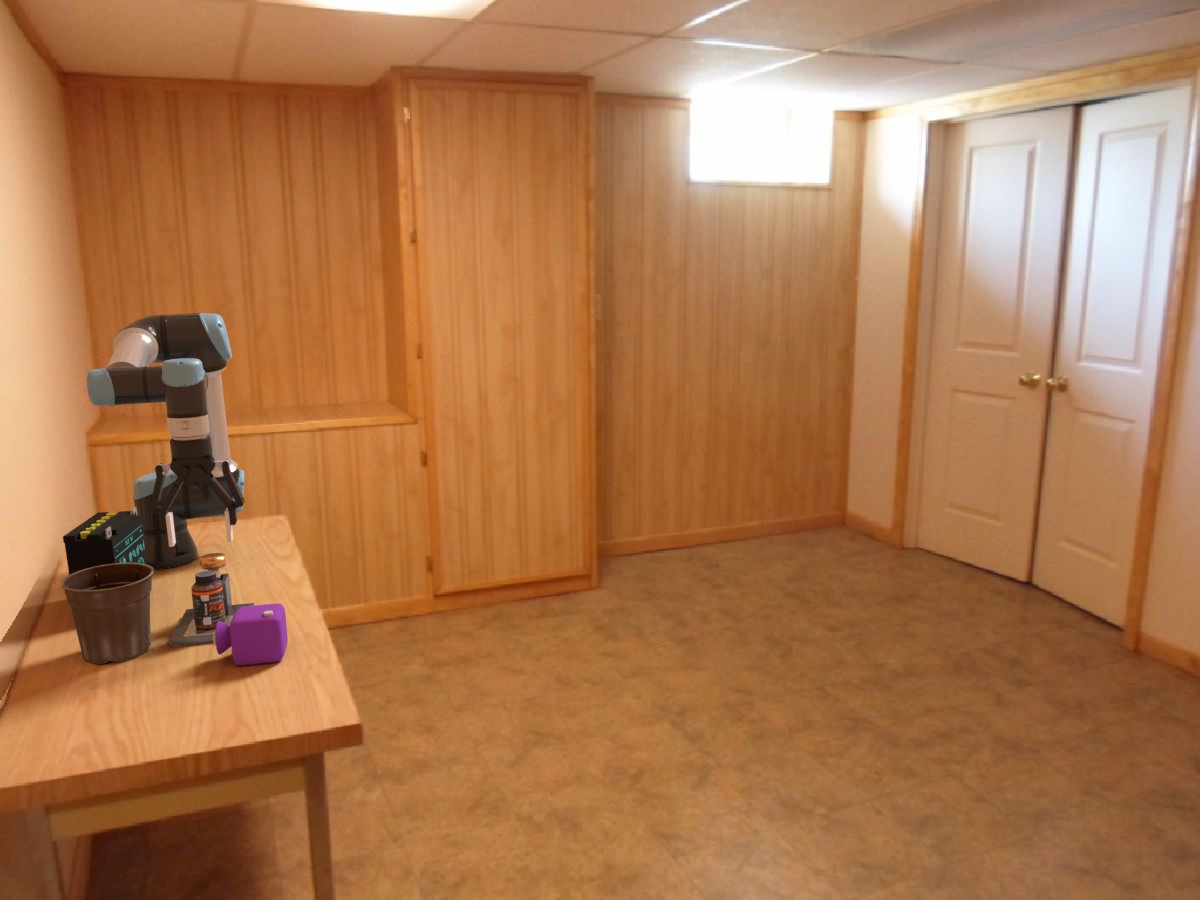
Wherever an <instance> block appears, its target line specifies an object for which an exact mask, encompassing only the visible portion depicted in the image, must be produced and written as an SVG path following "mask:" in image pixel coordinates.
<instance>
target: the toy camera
mask: <svg viewBox="0 0 1200 900" xmlns="http://www.w3.org/2000/svg"><path fill="white" fill-rule="evenodd" d="M288 637H289V636H288V627H287V617H286V610H285V607H284V605H283V604H281V603H268V604H267V603H265V604H257V605H255V604H254V605H253V606H244V607H240V608H238V609H237V610H236V612H235V614H234V616H233V618H232V620H231V623H230V626H228V625H227V624H225V623H223V622H221V621H218V622H217V624H216V630H215V632H214V634H213V642H212V643H213V644H214V646H215V647H216V653H217V654H218V655H222V654H224V653H225V652H227V651H228V650H229V649H231V655H232V660H233V662H234V664H235V665H237V666H249V665H261V664H268V663H269V664H270V663H276V662H280V661H281V660H283V658H284V657H285V653H286V649H287V646H288V641H289V640H288Z"/></svg>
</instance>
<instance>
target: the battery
mask: <svg viewBox="0 0 1200 900" xmlns="http://www.w3.org/2000/svg"><path fill="white" fill-rule="evenodd" d="M62 542H63V544H64V549H65V550H64V551H65V556H66V563H67V571H68V576H69V575H70V574H73V573H75V572H78V571H81V570H84V569H87V568H91V567H95V566H100V565H107V564H116V563H141V564H146V565H147V557H146V549H145V541H144V533H143V525H142V515H137V508H136V507H135V506H134V508H132V509H131V510H123V511H122V510H120V511H118V512H117V513H115V512H108V511H103V512H99V511H98V512H97V513H95V514H94V515H92V516H91V517H89V518H87V519H86V520H85V521H83V522H81V524H79V525H77V526H76V527H75V528H73V529H72V530H70V531H69V532H67V533H66V534H64V535H63V536H62Z"/></svg>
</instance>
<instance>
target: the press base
mask: <svg viewBox="0 0 1200 900" xmlns="http://www.w3.org/2000/svg"><path fill="white" fill-rule="evenodd" d="M220 576H221V580H218V581H220V582H221V583H222V589H223V599H224V610H225V624H227V625H228V626H230V623H231V620H232V618H233V616H234V614H235V612H236V610H237V609H238V608H240V607H244V606H253V605H255V603H254V602H249V603H239V604H233V601H232V600H233V599H232V591H231V590H232V589H231V582H230V581H231V580H230V573H220ZM215 630H216V628H211V629H200V628H197V627H196V626H195V620H194V610H193V608H186V609H185V611H184V613H183V614H182V617H181V618H180V621H179V622H178V624H177V626H176V628H175V630H173V631H174V632H173V634H172V635H171V637H170V638H169V643H170V644H169V645H170V647H179V646H180V647H181V646H188V645H189V646H190V645H199V644H209V643H214V642H213V634H214V632H215Z"/></svg>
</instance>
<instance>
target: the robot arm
mask: <svg viewBox="0 0 1200 900" xmlns="http://www.w3.org/2000/svg"><path fill="white" fill-rule="evenodd" d="M230 344H231V343H230V338H229V335H228V331H227V326H226V324H225V321H224V318H223V317H222V316H221V315H220V314H217V313H203V312H195V313H174V314H152V315H148V316H144V317H141V318H138V319H136V320H134V321H132V322H130V323H129V324H127V325H125V326H124V327H122V328H121V329H120V330H119V331H118V333H116V334H115V337H114V339H113V341H112V351H113V352H112V355H111V357H110V360H109V362H108V363H107V366H106V367H100V368H95V369H93V368H92V369H90V370H89V371H88V372H87V374H86V389H87V395H88V399H89V401H90V403H91V404H92V405H94V406H96V407H98V406H102V407H105V406H107V407H113V406H125V405H139V404H152V403H155V404H156V403H165V409H166V420H167V430H168V435H169V436H170V437H171V439H170V440H169V446H170V447H169V448H170V455H171V461H170V463H162V462H161V463H159V464H157V465H156V466H155V467H154V472H151V473H148V474H145V475H142V476H141V477H138V478H136V480H134V482H133V484H132V491H133V497H132V500H133V502H134V508H135V507H136V508H137V515H142V525H143V533H144V541H145V549H146V557H147V565H149V566H151V567H152V568H153V569H154V570H162V568H164V569H169V568H168V567H171V568H175V566H176V567H178V565H180V566H182V564H184V565H186V564H185V563H187V564H189V563H192V562H193V561H195V560H196V559H198V557H199V552H198V547H197V545H196V543H195V541H194V539H193V536H192V535H191V533H190V531H189V528H188V520H195V519H205V518H215V517H224V521H225V528H226V529H225V530H226V538H227V540H226V541H227V543H232V542H233V541H234V532H233V531H234V530H233V529H234V528H233V526H235V525H237V522H238V517H237V516H238V514H239V513H242V511H243V509H244V503H245V502H246V501H245V495H244V494H245V471H244V470H243V469H239V467H238V466H239V465H238V463H237V461H234V460H233V459H232V457H231V450H230V448H231V447H230V442H229V432H228V431H229V430H228V423H227V414H226V413H227V412H226V407H225V396H224V395H225V394H224V387H223V379H222V373H223V372H224V370H226V369H227V366H228V365H227V361H230V360H232V358H233V354H232V348H231V345H230ZM151 364H161V365H151ZM197 556H198V557H197Z"/></svg>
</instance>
